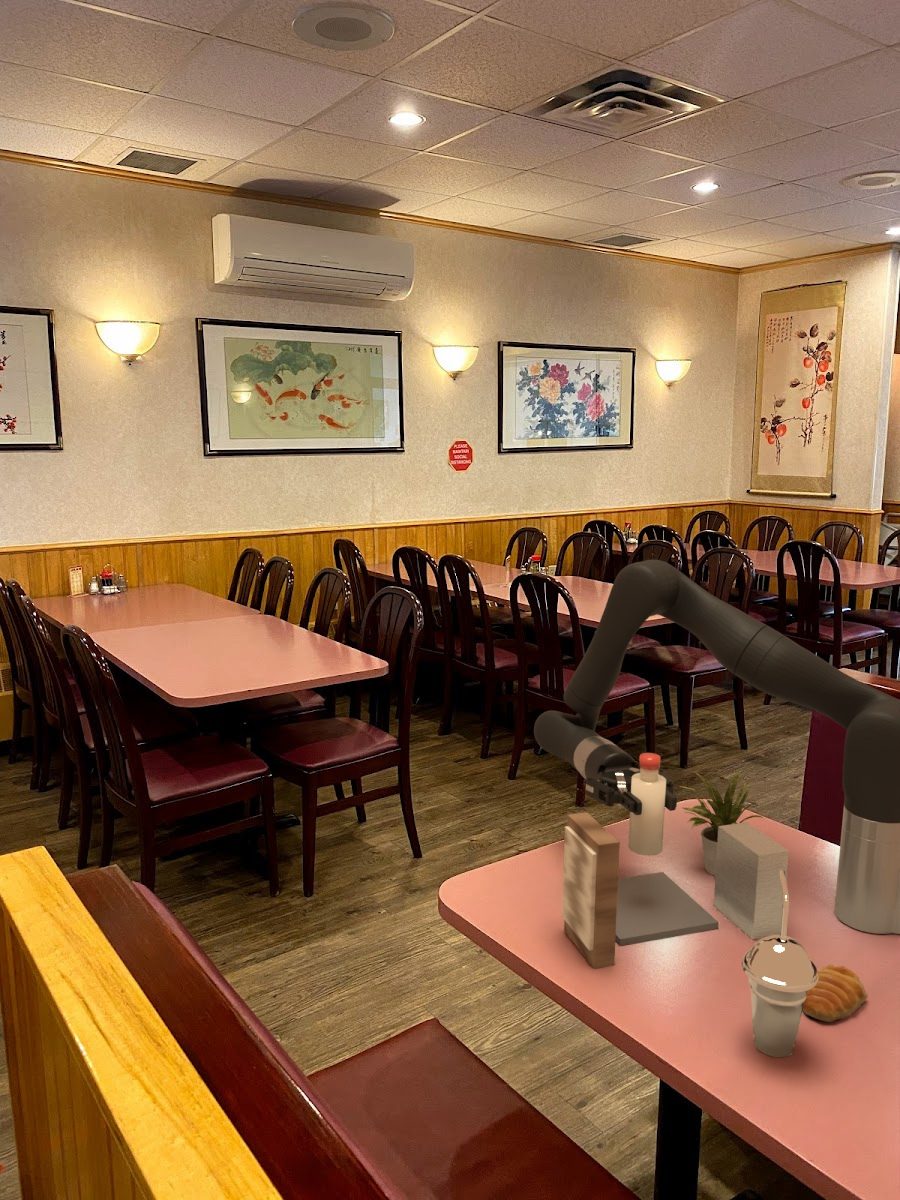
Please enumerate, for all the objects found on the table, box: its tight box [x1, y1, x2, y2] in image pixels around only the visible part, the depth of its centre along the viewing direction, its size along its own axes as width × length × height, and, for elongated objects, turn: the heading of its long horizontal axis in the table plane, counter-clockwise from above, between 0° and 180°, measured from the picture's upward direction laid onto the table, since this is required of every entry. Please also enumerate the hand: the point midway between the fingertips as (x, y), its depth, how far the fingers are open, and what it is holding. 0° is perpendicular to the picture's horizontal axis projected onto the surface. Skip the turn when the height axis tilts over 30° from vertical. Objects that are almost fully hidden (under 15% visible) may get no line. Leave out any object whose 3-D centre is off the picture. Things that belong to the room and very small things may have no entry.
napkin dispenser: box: [713, 821, 790, 940], centre depth 135 cm, size 10×5×13 cm, turn 17°
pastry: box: [802, 964, 868, 1023], centre depth 116 cm, size 9×7×4 cm
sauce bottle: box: [627, 752, 666, 857], centre depth 136 cm, size 5×5×14 cm
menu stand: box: [561, 812, 620, 969], centre depth 127 cm, size 10×4×18 cm, turn 17°
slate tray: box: [615, 871, 719, 946], centre depth 139 cm, size 16×16×1 cm
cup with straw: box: [741, 870, 818, 1058], centre depth 107 cm, size 8×9×20 cm
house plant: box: [678, 770, 764, 877], centre depth 152 cm, size 14×14×16 cm
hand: (656, 806), depth 134 cm, fingers closed on sauce bottle, 5 cm apart
